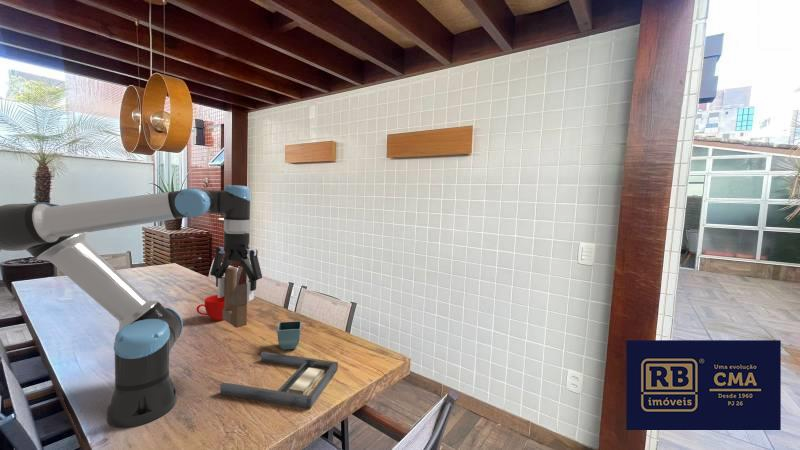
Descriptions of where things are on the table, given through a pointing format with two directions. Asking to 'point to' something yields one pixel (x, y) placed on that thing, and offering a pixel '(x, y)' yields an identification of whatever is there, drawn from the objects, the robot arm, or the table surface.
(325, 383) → the tray
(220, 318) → the ceramic cup
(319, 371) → the offcut stack
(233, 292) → the wooden block
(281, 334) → the flower pot
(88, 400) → the table surface
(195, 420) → the table surface
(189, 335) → the table surface
